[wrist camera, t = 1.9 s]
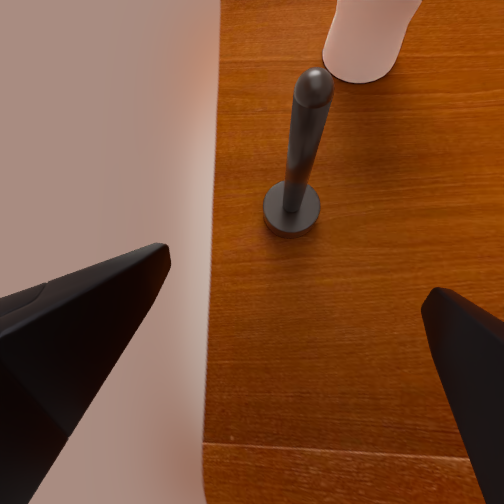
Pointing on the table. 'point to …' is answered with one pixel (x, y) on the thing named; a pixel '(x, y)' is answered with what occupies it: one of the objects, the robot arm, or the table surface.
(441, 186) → the table surface
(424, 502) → the table surface
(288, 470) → the table surface
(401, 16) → the cup
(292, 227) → the joystick
